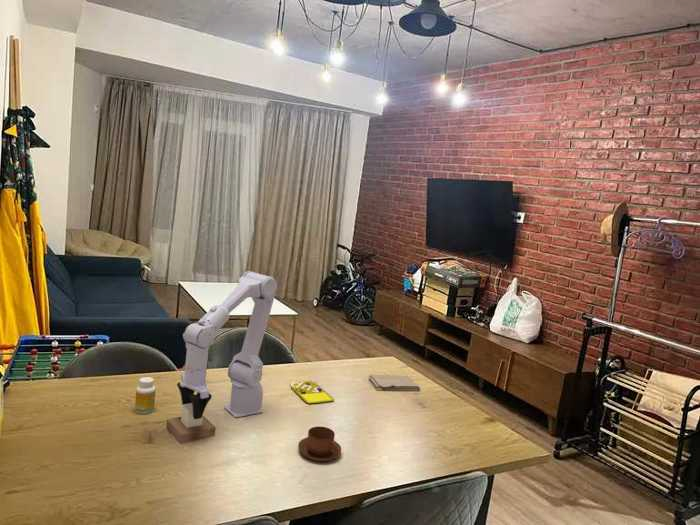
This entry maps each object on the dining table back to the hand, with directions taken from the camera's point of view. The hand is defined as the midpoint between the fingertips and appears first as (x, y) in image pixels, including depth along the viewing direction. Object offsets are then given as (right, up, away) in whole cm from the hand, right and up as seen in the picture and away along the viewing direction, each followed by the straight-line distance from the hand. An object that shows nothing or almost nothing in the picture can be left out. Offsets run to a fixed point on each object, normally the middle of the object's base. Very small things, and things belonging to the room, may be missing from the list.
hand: (192, 412), depth 146 cm
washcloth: (+61, -6, +56) cm, 83 cm away
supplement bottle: (-17, -2, +10) cm, 20 cm away
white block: (0, -3, +1) cm, 3 cm away
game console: (+30, -5, +38) cm, 49 cm away
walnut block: (-1, -6, +1) cm, 6 cm away
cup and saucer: (+36, -11, -2) cm, 38 cm away
